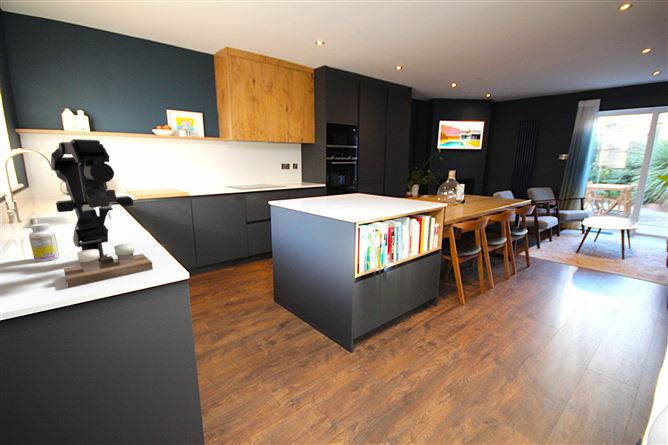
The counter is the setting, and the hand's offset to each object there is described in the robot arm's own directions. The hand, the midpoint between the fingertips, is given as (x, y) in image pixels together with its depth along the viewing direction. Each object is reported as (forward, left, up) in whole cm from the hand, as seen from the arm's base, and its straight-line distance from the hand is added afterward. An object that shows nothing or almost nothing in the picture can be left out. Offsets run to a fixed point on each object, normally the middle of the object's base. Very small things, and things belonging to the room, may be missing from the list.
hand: (101, 230), depth 97 cm
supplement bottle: (-27, -14, -13) cm, 33 cm away
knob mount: (+5, 0, -13) cm, 14 cm away
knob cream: (+6, -4, -11) cm, 13 cm away
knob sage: (+6, +4, -11) cm, 13 cm away
